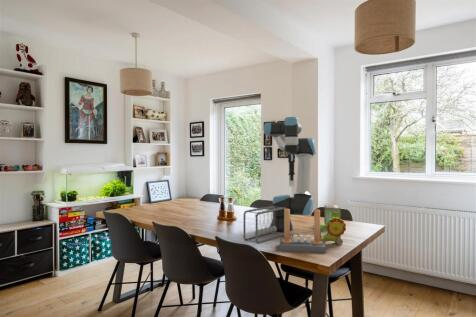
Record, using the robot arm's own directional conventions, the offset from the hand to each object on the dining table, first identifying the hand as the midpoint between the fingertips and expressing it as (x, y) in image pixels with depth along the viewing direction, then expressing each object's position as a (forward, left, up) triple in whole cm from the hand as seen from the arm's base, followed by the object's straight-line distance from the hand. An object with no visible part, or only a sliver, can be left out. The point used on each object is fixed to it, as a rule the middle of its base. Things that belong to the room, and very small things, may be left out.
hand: (291, 186), depth 183 cm
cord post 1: (+8, -3, -30) cm, 31 cm away
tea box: (-49, +28, -33) cm, 66 cm away
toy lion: (-4, +22, -33) cm, 40 cm away
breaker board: (+8, +5, -33) cm, 34 cm away
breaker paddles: (+8, +5, -30) cm, 31 cm away
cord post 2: (+8, +13, -30) cm, 34 cm away
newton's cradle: (-12, -15, -33) cm, 38 cm away
